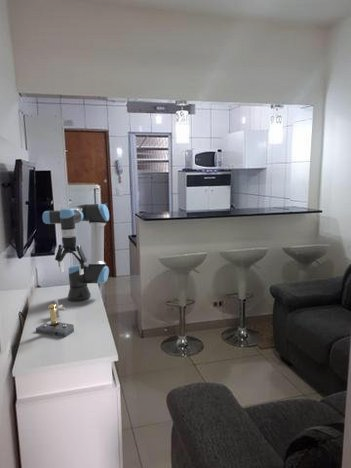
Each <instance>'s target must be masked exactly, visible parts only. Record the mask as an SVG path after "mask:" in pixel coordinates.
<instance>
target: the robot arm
mask: <svg viewBox="0 0 351 468" xmlns="http://www.w3.org/2000/svg"><path fill="white" fill-rule="evenodd" d="M109 220H110V211H109V209H108V206H107V204H103V203H94V204H93V203H92V204H90V203H89V204H88V203H87V204H80V205H76V206H72V207H70V208H69V207H68V208H61V209H57V210H45V211H44V212H43V213H42V222H43V223H44V224H45V225H47V224H48V225H56V224H57V225H58V224H60V232H61V242H62V243H60V244H58V248H57V252H56V256H55V258H54V260H55V261H56V262H57V263H58V267H59V273H60V274H62V273H65V264H64V262H65V261H64V260H63V259H64V258H65V256H66V255H68V254H72V255H74V257H75V258H76V259H77V261H78V262H79V263H78V264H73V265H71V266H70V267H68V282H69V290H68V295H67V300H68V301H70V302H81V301H86V300H88V299H90V298H91V292H90V289H89V286H88V284H97V285H98V284H105V283H106V282H107V281H108V278H109V273H110V268H109V266H107V263H106V262H105V260H104V255H105V254H104V253H105V251H104V249H105V226H106V225H107V222H108V221H109ZM80 222H88V224H89V225H90V261H89V262H88V266H87V265H86V262H87V261H88V259H87V258H86V255H85V254H84V251H83V249H82V245H80V244H78V245H77V236H76V235H77V233H76V224H78V223H80Z"/></svg>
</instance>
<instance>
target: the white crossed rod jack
mask: <svg viewBox="0 0 351 468" xmlns="http://www.w3.org/2000/svg"><path fill="white" fill-rule="evenodd" d="M54 304H56V307H55V308H56V317H57V318H60V311H62V312H64V311H66V307H63V306H64V305H63V304H59V300H54ZM48 310H49V311H50V308H48Z"/></svg>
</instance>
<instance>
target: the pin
mask: <svg viewBox="0 0 351 468" xmlns="http://www.w3.org/2000/svg"><path fill="white" fill-rule="evenodd" d="M55 307H56V304H55V303H51V304H49V305H48V309H49V308H50V310H49V315H50V323H51V326H53V327H55V326H57V322H58V317H56V308H55Z"/></svg>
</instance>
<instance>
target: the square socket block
mask: <svg viewBox="0 0 351 468" xmlns="http://www.w3.org/2000/svg"><path fill="white" fill-rule="evenodd" d="M74 326H75V325H74V324H71V323H66V322H62V321H61V322H59V321H57V326H55V327H53V326H51V322H50V323H46V322H44V323H43V324H41V325H39V326H37V327H36V328H35V332H37V333H42V334H47V335H52V336H57V337H63V338H67V337H68V336H70V335H71V334H73V333H74V332H75V327H74Z"/></svg>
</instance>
